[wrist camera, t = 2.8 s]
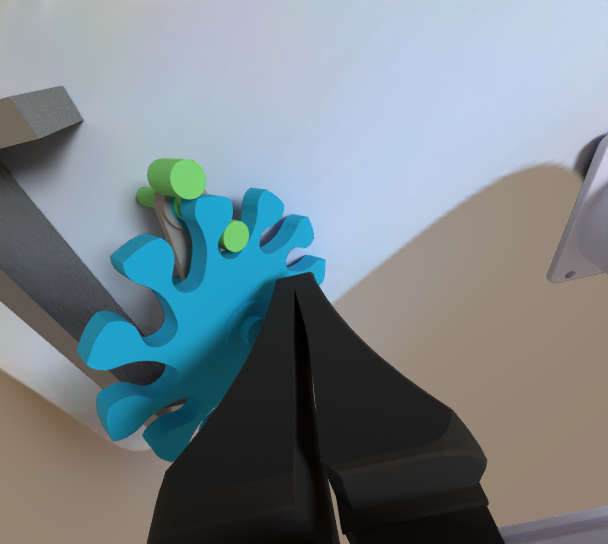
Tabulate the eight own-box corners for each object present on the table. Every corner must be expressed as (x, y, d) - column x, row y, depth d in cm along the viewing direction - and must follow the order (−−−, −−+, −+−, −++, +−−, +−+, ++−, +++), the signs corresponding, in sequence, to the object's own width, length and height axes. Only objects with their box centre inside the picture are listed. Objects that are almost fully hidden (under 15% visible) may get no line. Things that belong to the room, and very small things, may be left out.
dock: (62, 85, 9) (-5, 99, 7) (232, 366, 19) (228, 413, 16) (-71, 120, 10) (-182, 145, 7) (164, 382, 19) (150, 430, 17)
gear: (341, 348, 16) (179, 530, 10) (267, 314, 20) (112, 432, 14) (325, 127, 11) (-56, 222, 5) (226, 133, 14) (-67, 191, 8)
